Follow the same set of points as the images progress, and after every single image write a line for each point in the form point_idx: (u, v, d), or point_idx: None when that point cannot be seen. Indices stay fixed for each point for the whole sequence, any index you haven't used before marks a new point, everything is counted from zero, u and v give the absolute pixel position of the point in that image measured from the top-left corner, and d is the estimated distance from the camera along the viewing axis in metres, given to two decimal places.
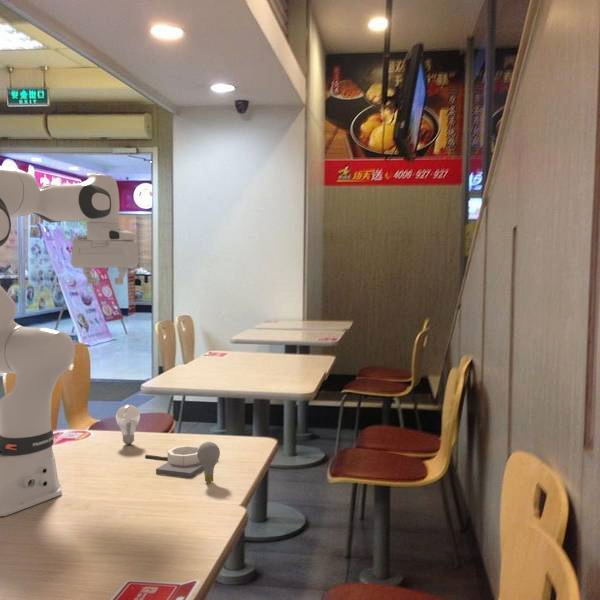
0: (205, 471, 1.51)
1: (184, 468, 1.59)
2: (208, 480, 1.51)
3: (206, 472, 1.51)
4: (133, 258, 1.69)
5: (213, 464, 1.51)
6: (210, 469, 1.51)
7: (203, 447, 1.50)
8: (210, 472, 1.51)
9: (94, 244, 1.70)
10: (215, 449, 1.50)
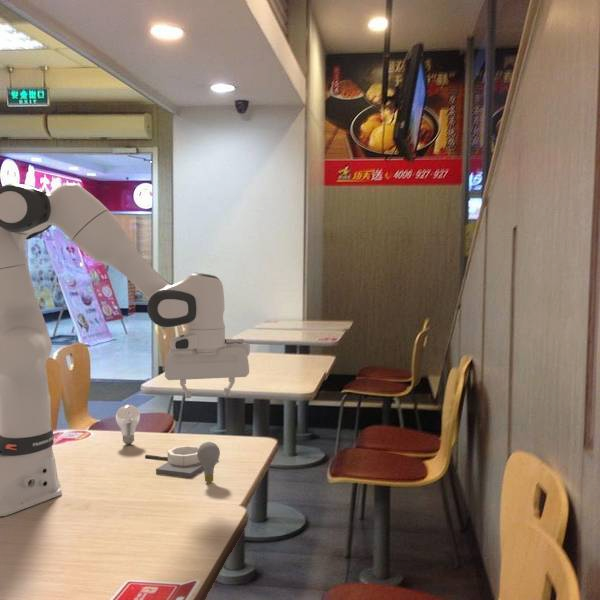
0: (205, 471, 1.51)
1: (184, 468, 1.59)
2: (208, 480, 1.51)
3: (206, 472, 1.51)
4: None
5: (213, 464, 1.51)
6: (210, 469, 1.51)
7: (203, 447, 1.50)
8: (210, 472, 1.51)
9: None
10: (215, 449, 1.50)
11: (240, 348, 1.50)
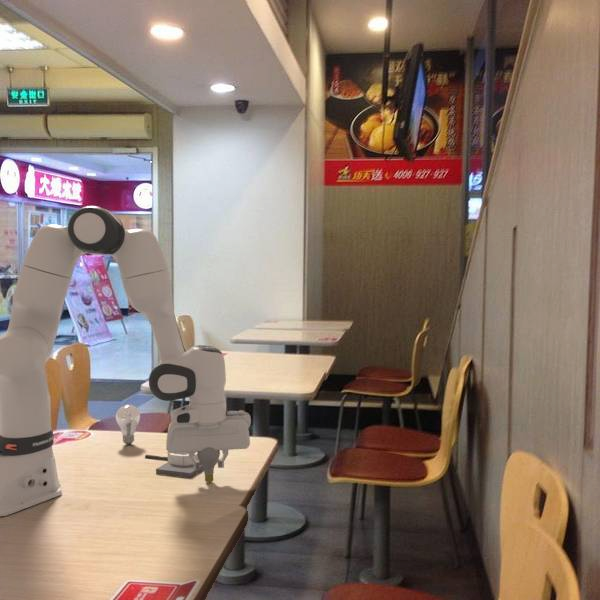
0: (205, 471, 1.51)
1: (184, 468, 1.59)
2: (208, 480, 1.51)
3: (206, 472, 1.51)
4: None
5: (213, 464, 1.51)
6: (210, 469, 1.51)
7: None
8: (210, 472, 1.51)
9: None
10: None
11: (241, 420, 1.51)
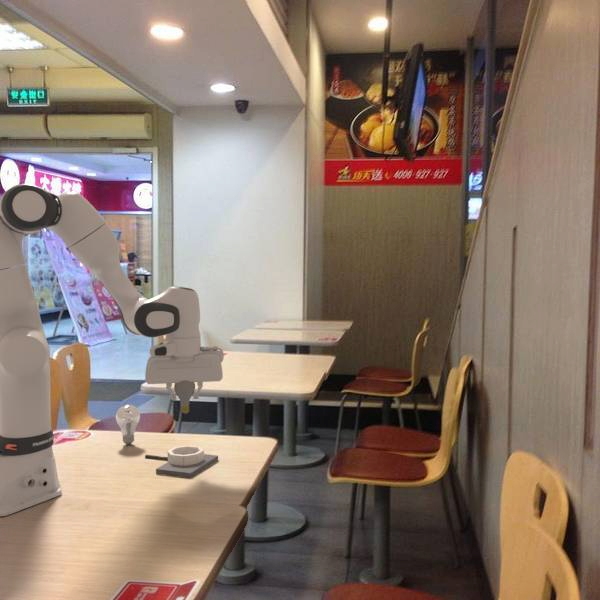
0: (181, 403, 1.65)
1: (184, 468, 1.59)
2: (184, 411, 1.65)
3: (182, 403, 1.64)
4: None
5: (188, 396, 1.64)
6: (186, 401, 1.64)
7: None
8: (186, 403, 1.64)
9: None
10: (191, 382, 1.64)
11: (214, 355, 1.64)
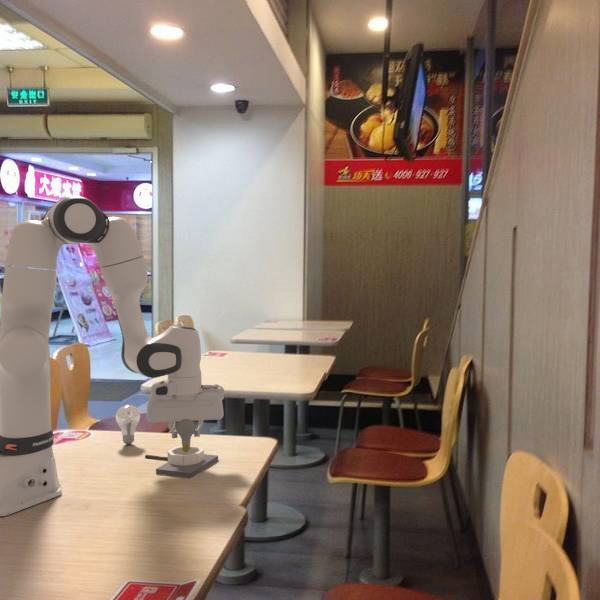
0: (182, 441, 1.65)
1: (184, 468, 1.59)
2: (185, 449, 1.65)
3: (183, 442, 1.65)
4: None
5: (189, 434, 1.65)
6: (187, 439, 1.65)
7: None
8: (187, 442, 1.65)
9: None
10: None
11: (215, 393, 1.65)
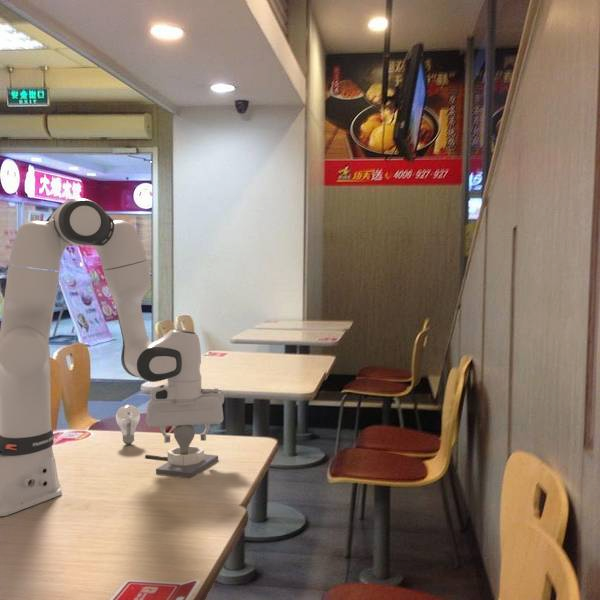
0: (181, 449, 1.65)
1: (184, 468, 1.59)
2: None
3: (181, 450, 1.65)
4: None
5: (188, 443, 1.65)
6: (185, 447, 1.65)
7: (179, 427, 1.64)
8: (185, 450, 1.65)
9: None
10: (190, 429, 1.65)
11: (215, 397, 1.65)
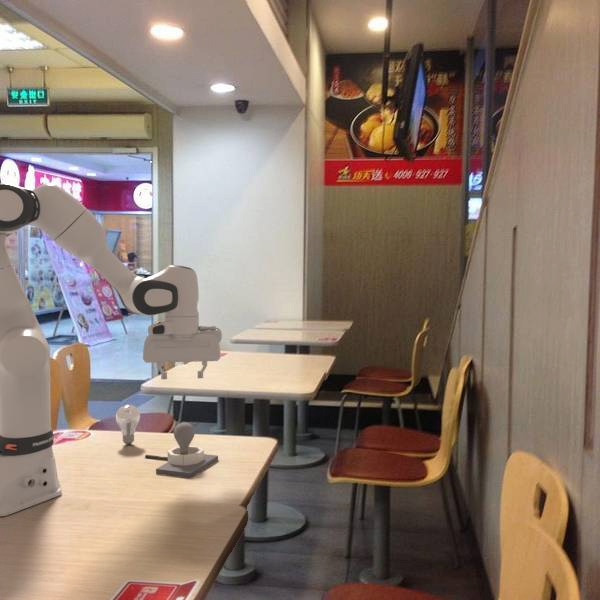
0: (181, 449, 1.65)
1: (184, 468, 1.59)
2: None
3: (181, 450, 1.65)
4: None
5: (188, 443, 1.65)
6: (185, 447, 1.65)
7: (179, 427, 1.64)
8: (185, 450, 1.65)
9: None
10: (190, 429, 1.65)
11: (212, 334, 1.64)
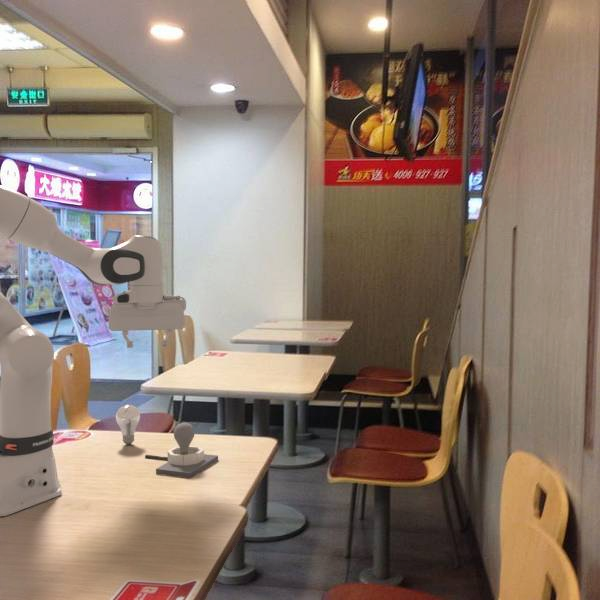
0: (180, 449, 1.65)
1: (184, 468, 1.59)
2: None
3: (181, 450, 1.65)
4: None
5: (188, 443, 1.65)
6: (185, 447, 1.65)
7: (179, 427, 1.64)
8: (185, 450, 1.65)
9: None
10: (190, 429, 1.64)
11: (176, 303, 1.68)
